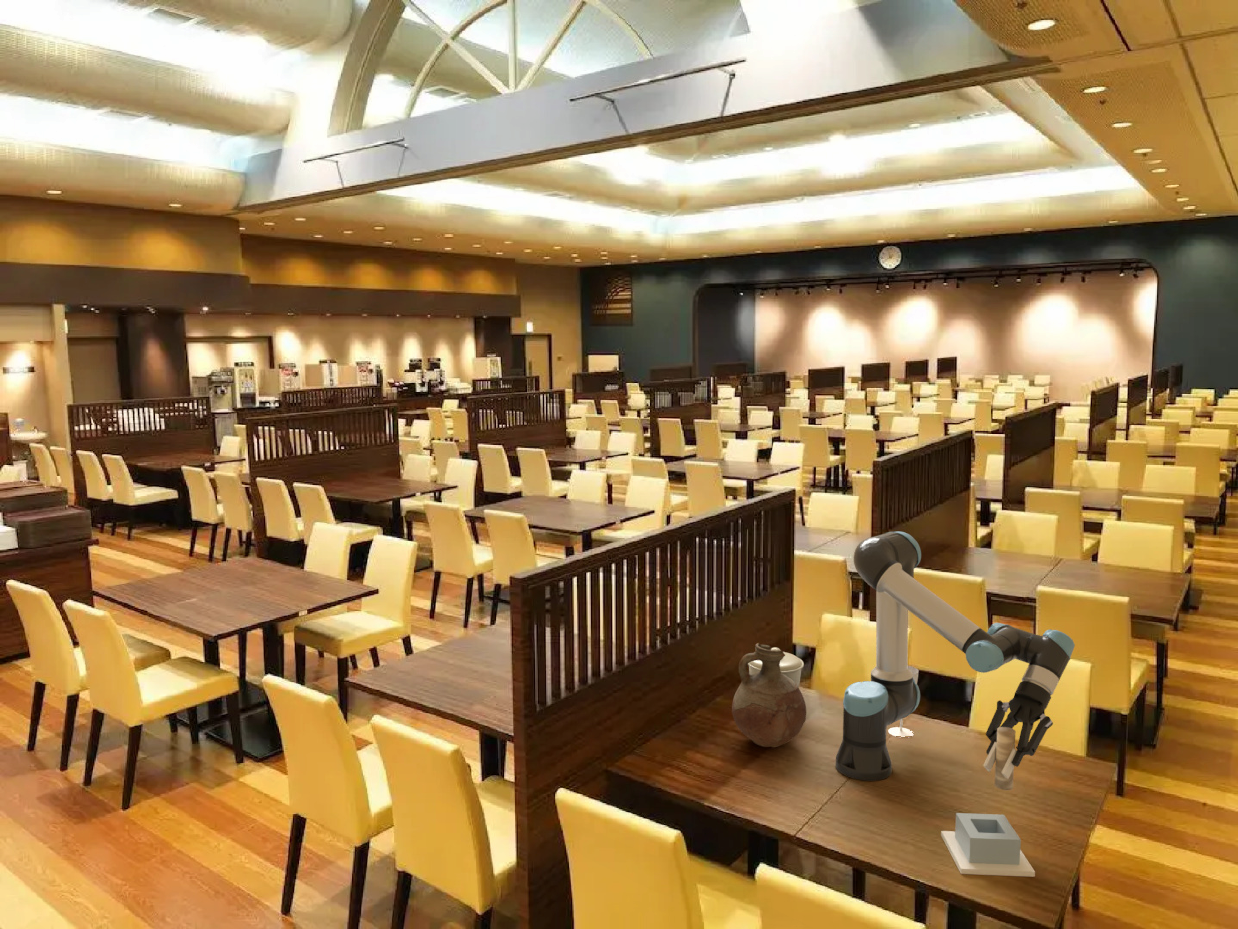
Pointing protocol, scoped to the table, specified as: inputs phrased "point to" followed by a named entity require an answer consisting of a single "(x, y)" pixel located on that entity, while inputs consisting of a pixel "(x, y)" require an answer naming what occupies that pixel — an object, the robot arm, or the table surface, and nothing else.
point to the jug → (768, 701)
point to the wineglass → (899, 730)
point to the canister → (782, 666)
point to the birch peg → (1004, 756)
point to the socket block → (986, 846)
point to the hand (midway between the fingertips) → (995, 772)
